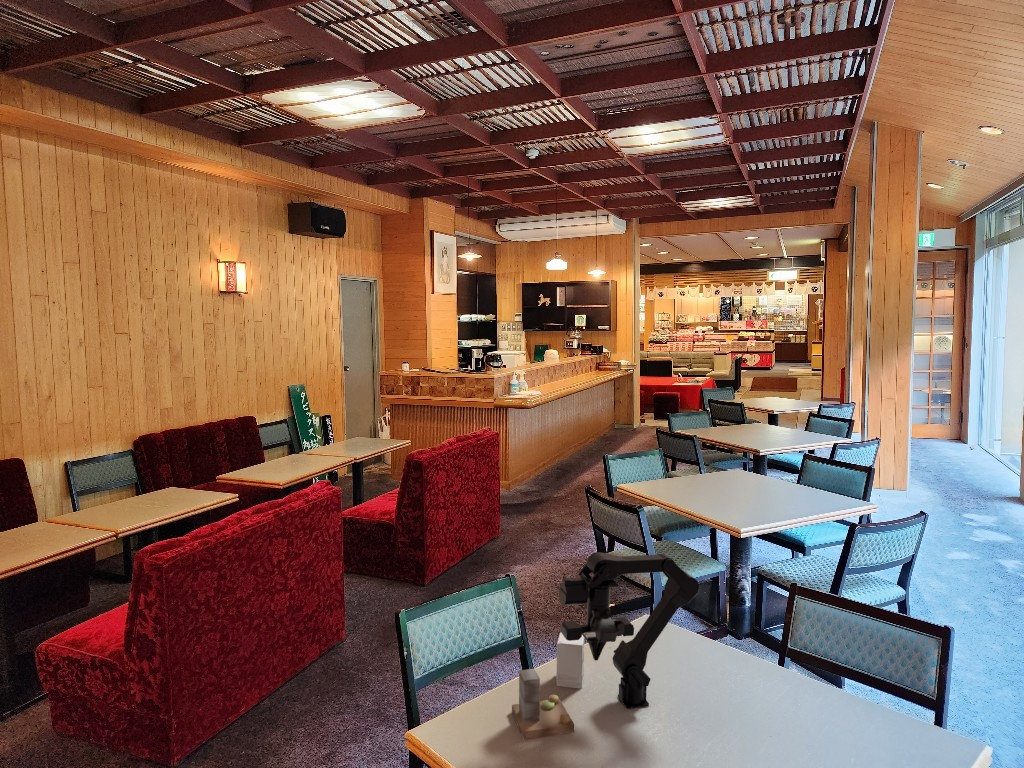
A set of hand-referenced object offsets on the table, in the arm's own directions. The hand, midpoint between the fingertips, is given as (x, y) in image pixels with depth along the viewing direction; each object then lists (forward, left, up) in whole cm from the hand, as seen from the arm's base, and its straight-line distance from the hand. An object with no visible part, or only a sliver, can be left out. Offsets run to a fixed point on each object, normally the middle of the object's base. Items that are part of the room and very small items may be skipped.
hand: (595, 659), depth 174 cm
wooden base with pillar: (+16, +3, -13) cm, 20 cm away
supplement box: (+2, -14, -13) cm, 19 cm away
